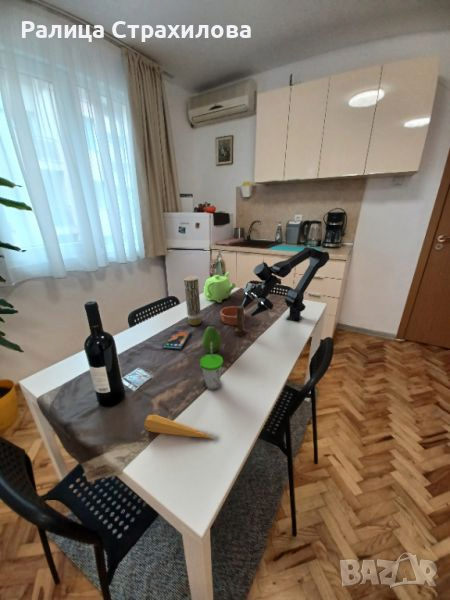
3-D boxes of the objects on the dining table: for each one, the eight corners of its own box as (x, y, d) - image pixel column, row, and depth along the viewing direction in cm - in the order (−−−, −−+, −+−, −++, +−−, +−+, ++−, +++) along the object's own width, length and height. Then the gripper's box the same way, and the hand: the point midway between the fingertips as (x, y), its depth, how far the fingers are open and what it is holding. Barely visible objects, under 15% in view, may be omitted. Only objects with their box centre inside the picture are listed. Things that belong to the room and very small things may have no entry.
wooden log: (186, 324, 125) (181, 279, 115) (192, 319, 130) (188, 275, 121) (197, 326, 122) (193, 280, 113) (203, 321, 128) (200, 276, 118)
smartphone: (162, 346, 104) (175, 329, 118) (163, 349, 105) (175, 331, 118) (180, 347, 103) (191, 329, 116) (180, 350, 103) (191, 332, 117)
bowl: (229, 312, 137) (229, 304, 135) (249, 318, 130) (249, 309, 128) (215, 321, 127) (215, 313, 125) (236, 328, 120) (236, 319, 118)
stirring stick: (238, 330, 118) (238, 304, 112) (246, 332, 115) (246, 306, 110) (233, 334, 114) (233, 307, 109) (241, 336, 112) (241, 309, 107)
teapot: (226, 308, 142) (225, 283, 136) (198, 301, 153) (196, 278, 147) (246, 295, 161) (246, 272, 155) (220, 290, 173) (219, 268, 167)
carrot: (144, 432, 67) (140, 427, 64) (151, 415, 70) (147, 410, 67) (212, 449, 64) (211, 445, 61) (216, 431, 67) (216, 426, 64)
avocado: (207, 358, 97) (205, 332, 92) (200, 348, 104) (198, 324, 99) (224, 353, 100) (223, 328, 96) (217, 344, 107) (216, 320, 102)
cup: (215, 396, 78) (213, 358, 72) (197, 387, 82) (193, 351, 76) (228, 382, 84) (227, 346, 78) (210, 374, 88) (207, 339, 82)
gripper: (246, 271, 116) (227, 296, 116) (269, 281, 100) (246, 310, 100) (260, 284, 122) (241, 308, 122) (283, 296, 106) (261, 323, 106)
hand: (246, 312), depth 112 cm, fingers open, 9 cm apart
